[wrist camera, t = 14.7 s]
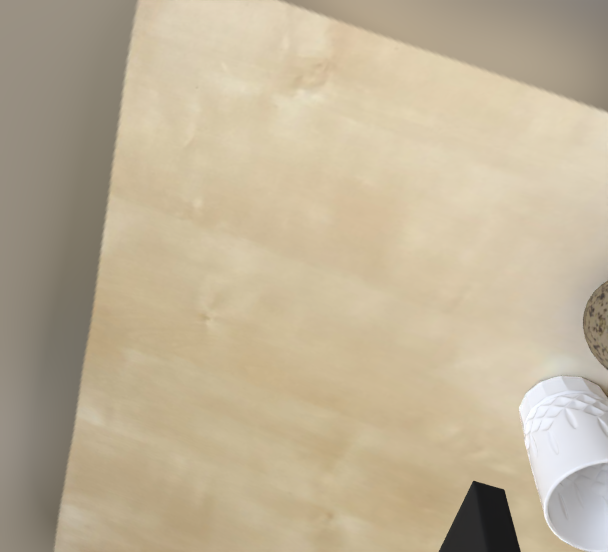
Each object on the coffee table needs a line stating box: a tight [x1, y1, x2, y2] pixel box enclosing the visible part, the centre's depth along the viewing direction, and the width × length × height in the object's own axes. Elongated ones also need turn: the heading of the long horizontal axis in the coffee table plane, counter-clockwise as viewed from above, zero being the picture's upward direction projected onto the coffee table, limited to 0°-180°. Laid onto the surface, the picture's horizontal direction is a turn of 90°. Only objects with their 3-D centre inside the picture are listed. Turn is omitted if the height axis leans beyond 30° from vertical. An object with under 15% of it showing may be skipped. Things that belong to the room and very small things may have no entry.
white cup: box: [519, 376, 608, 552], centre depth 37 cm, size 8×8×10 cm
